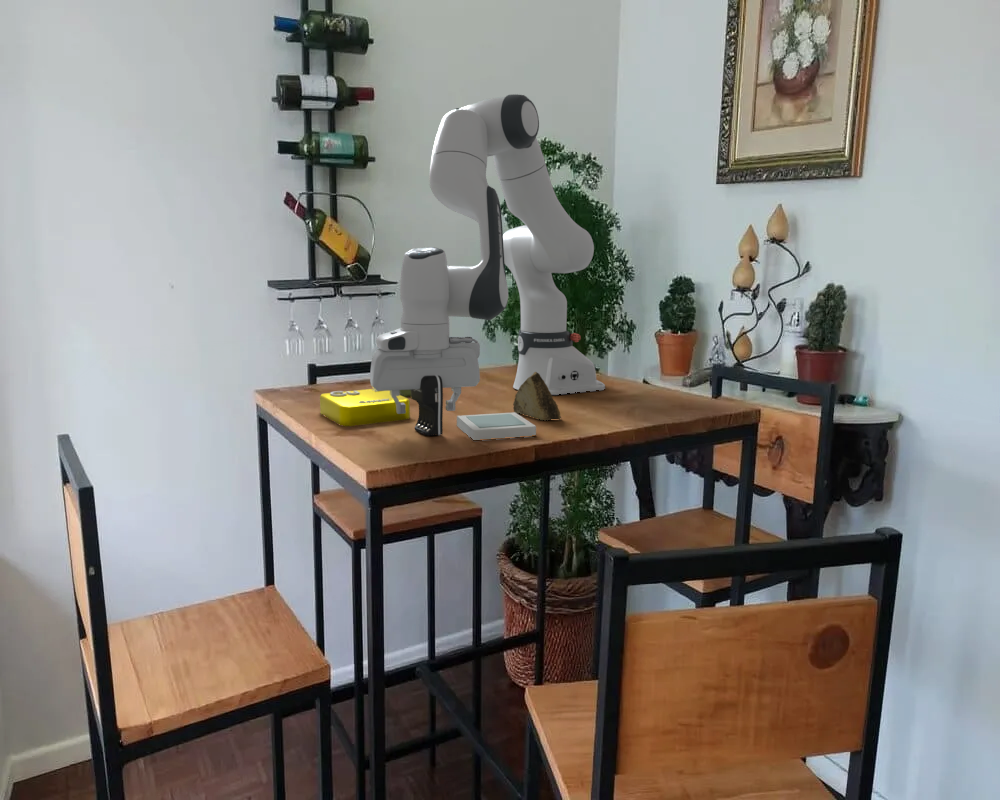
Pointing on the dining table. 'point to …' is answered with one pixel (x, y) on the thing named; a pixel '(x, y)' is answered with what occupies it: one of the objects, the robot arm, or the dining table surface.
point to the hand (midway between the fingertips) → (425, 411)
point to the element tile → (362, 407)
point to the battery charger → (429, 405)
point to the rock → (536, 399)
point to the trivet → (495, 426)
